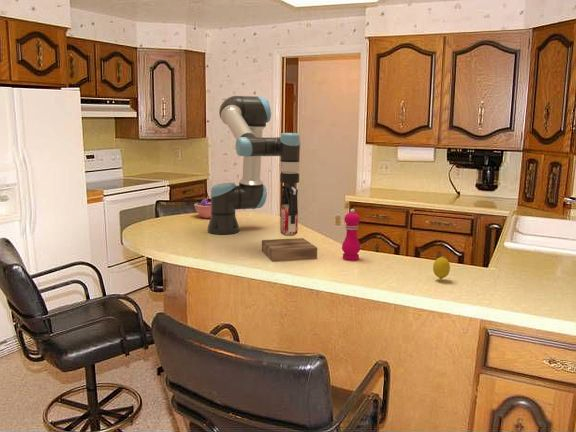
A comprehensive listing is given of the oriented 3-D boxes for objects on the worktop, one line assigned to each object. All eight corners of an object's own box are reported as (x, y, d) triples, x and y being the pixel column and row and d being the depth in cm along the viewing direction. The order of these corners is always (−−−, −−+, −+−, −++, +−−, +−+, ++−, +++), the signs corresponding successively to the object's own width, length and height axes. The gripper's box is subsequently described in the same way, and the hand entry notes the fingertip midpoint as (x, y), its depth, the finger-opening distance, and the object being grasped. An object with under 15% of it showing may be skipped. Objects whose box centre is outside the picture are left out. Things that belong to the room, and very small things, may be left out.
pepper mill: (361, 257, 201) (363, 207, 197) (357, 261, 194) (359, 210, 191) (343, 255, 203) (345, 206, 200) (339, 260, 196) (341, 209, 193)
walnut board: (261, 251, 210) (261, 240, 209) (302, 249, 215) (303, 238, 214) (272, 262, 193) (272, 250, 192) (317, 260, 198) (317, 247, 197)
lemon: (429, 276, 176) (431, 254, 174) (445, 276, 176) (446, 254, 175) (435, 281, 170) (437, 258, 169) (451, 281, 171) (453, 258, 169)
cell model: (228, 221, 273) (228, 201, 271) (191, 221, 273) (191, 200, 271) (231, 216, 290) (231, 196, 288) (196, 215, 290) (196, 196, 288)
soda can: (295, 237, 198) (296, 206, 196) (278, 236, 199) (278, 206, 197) (299, 233, 205) (299, 204, 203) (282, 232, 206) (282, 203, 204)
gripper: (273, 170, 206) (273, 225, 210) (288, 174, 187) (287, 235, 191) (291, 170, 208) (290, 224, 212) (307, 174, 190) (305, 234, 193)
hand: (289, 229), depth 202 cm, fingers closed on soda can, 7 cm apart
